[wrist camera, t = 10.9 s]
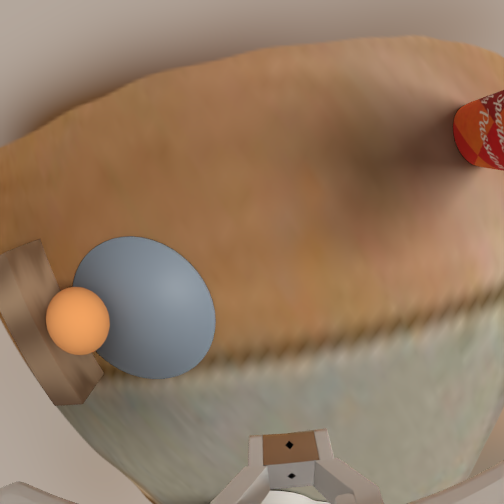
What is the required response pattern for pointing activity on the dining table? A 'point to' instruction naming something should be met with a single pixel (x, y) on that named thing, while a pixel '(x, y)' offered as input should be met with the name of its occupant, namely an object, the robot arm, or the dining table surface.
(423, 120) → the dining table surface
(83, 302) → the ball
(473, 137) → the paper cup
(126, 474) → the dining table surface
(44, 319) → the block
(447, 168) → the dining table surface
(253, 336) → the dining table surface
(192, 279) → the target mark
